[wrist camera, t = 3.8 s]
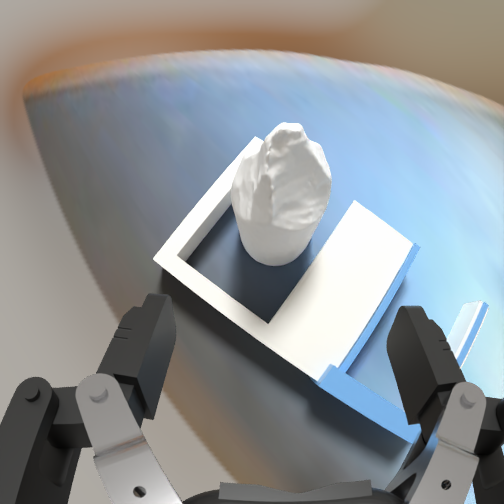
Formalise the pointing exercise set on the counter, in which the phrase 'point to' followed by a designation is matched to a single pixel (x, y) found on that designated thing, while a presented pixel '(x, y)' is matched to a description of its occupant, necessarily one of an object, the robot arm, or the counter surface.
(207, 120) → the counter surface
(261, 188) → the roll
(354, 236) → the white rail frame
